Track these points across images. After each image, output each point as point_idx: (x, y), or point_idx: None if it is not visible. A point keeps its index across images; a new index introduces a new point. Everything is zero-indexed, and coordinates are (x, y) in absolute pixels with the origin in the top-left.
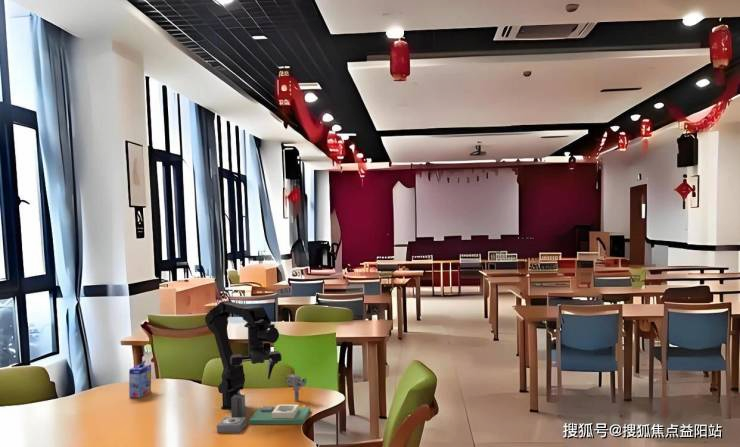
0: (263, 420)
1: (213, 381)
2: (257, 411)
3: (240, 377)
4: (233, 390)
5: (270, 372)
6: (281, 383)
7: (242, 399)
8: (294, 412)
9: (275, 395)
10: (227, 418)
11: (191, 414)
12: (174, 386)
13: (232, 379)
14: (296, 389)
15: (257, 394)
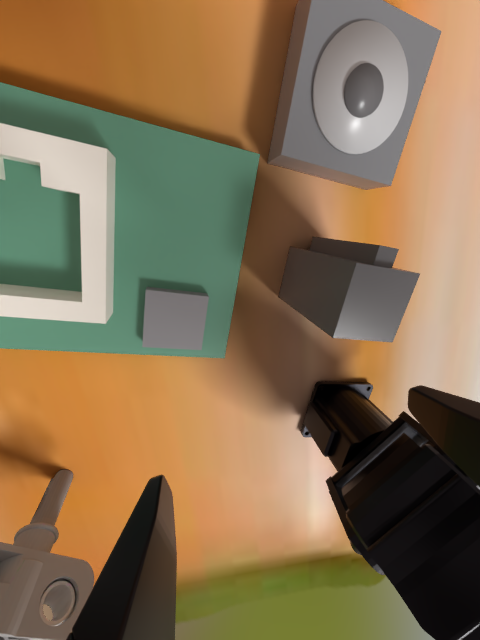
0: (168, 129)
1: (375, 581)
2: (226, 301)
3: (397, 523)
4: (373, 449)
5: (104, 592)
6: (179, 610)
7: (341, 277)
8: None
9: (180, 518)
10: (378, 161)
11: (461, 336)
12: None
13: (454, 478)
14: (29, 529)
15: (250, 518)
